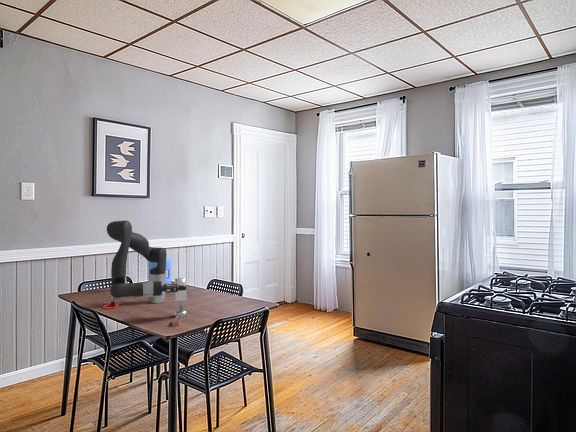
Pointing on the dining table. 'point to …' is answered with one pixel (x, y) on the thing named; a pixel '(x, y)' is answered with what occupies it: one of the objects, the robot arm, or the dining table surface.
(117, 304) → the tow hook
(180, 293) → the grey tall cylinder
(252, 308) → the dining table surface
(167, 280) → the water jug
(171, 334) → the dining table surface
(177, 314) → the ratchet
